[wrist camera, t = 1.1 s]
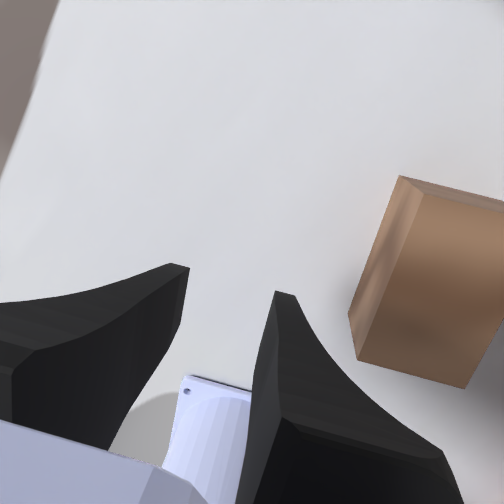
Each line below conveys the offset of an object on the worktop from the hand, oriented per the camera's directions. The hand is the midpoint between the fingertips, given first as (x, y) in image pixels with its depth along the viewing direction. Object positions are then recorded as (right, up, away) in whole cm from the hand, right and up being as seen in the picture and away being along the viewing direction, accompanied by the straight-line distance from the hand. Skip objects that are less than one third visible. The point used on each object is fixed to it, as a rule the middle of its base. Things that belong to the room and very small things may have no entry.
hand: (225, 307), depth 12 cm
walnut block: (+9, +1, +9) cm, 13 cm away
